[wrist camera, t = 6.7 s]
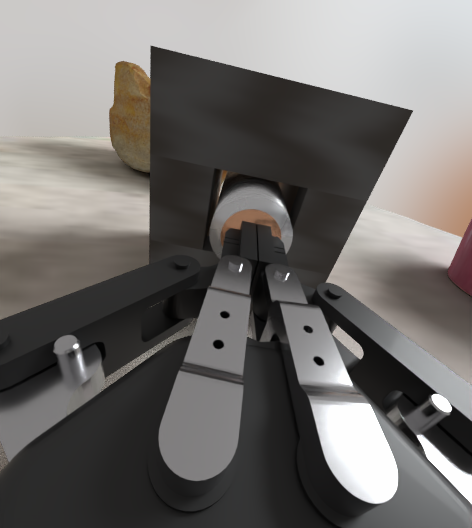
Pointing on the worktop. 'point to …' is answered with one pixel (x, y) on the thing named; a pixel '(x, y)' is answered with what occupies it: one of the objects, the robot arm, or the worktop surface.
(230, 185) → the peg
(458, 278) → the plant pot
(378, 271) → the worktop surface
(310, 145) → the housing
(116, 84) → the rough brown rock
